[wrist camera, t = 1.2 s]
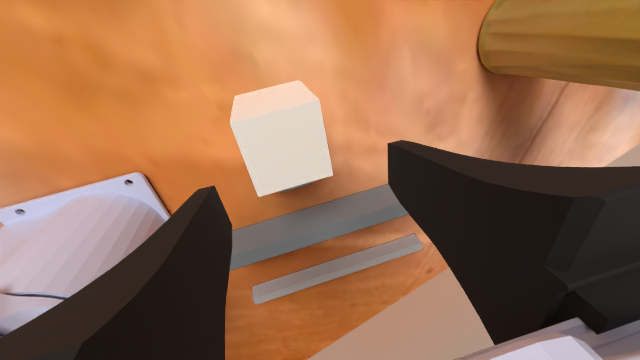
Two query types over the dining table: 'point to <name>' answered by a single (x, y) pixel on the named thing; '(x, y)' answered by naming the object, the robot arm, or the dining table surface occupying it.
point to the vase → (564, 41)
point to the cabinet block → (281, 137)
